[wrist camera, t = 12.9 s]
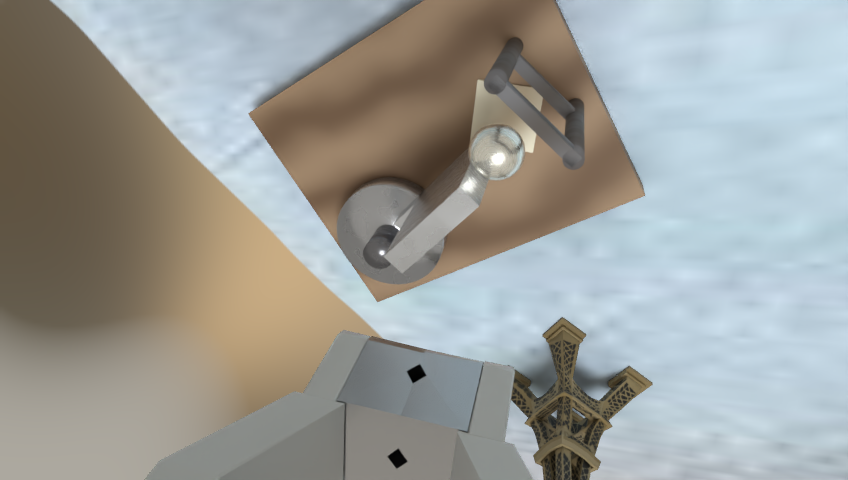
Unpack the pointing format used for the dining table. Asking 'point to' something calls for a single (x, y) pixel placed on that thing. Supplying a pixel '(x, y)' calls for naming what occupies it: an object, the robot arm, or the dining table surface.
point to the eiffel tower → (570, 433)
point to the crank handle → (423, 209)
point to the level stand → (457, 123)
